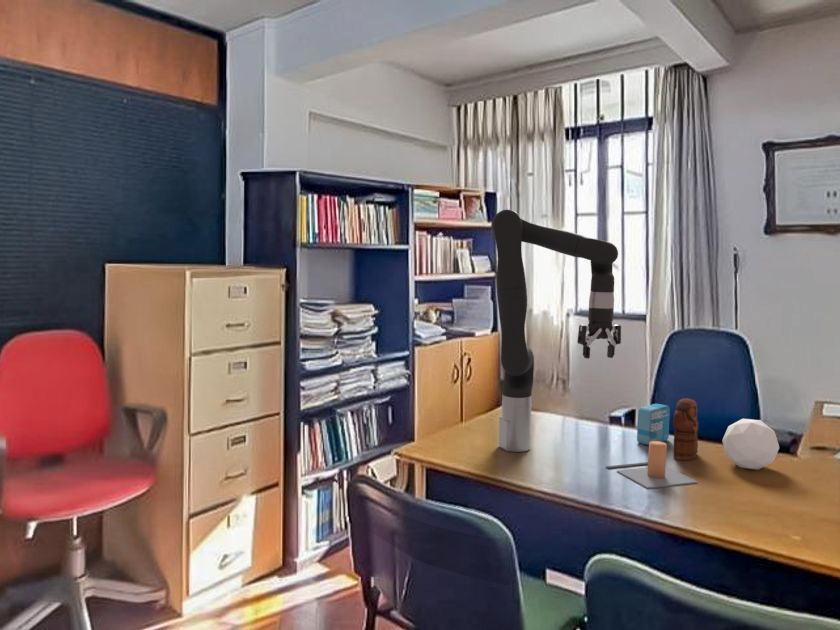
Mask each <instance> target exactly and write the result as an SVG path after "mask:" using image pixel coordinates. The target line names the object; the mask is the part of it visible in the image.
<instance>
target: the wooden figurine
mask: <svg viewBox="0 0 840 630" xmlns="http://www.w3.org/2000/svg"><path fill="white" fill-rule="evenodd" d="M699 425H700V424H699V420H698V404H697V402H696V400H694V399H693V398H692V399H691V398H687V397H686V398H681V399H679V400H678V401H677V403H676V405H675V411H674V414H673V422H672V426H673V428H674V430H673V431H674V433H673V459H675V460H676V461H693V460H696V457H697V456H698V454H697V453H698V447H699V444H698V442H699V441H698V439H699V438H698V434H699Z"/></svg>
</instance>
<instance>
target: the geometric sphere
mask: <svg viewBox="0 0 840 630" xmlns="http://www.w3.org/2000/svg"><path fill="white" fill-rule="evenodd" d="M726 428H727V429H726V431H725V433H724V435H723V438H722V440H721V441H722V445H723V448H724V452H725V456H726V457H727V458H728V459H729V460H731V461H732V463H734V464H735V465H737V466H738V467H739V468H741V469H749V470H757V471H758V470H761V469H762V468H765V467H767V466H768V465H770V464H772V463H774V460H775V458H776V456H777V454H778V452H779V450H780V445H779V442H778V438H777V435H776V432H775V430H773V429H772V428H771V427H769V426H768V425H767V424H766V423H764V422H763V421H762V420H761V419H751V418H741V419H739V420H738V421H735V422H734V423H732V424H730V425H728V426H727V427H726Z"/></svg>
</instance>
